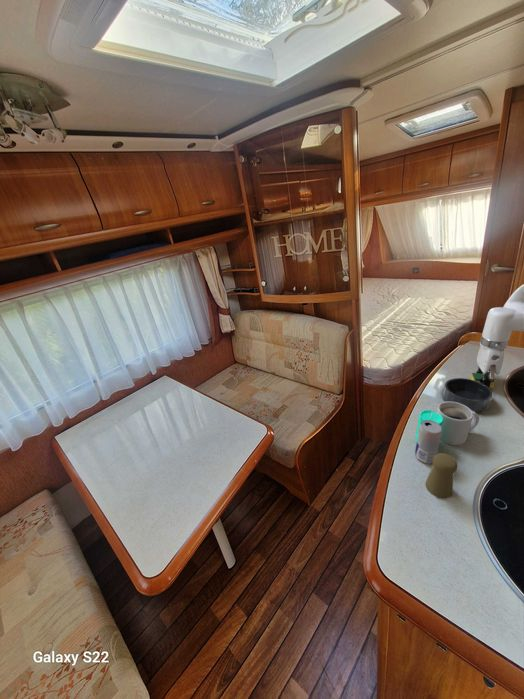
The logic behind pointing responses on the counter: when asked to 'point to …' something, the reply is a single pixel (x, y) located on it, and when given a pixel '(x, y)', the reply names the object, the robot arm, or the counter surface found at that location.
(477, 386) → the bowl
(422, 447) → the energy drink
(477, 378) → the sponge
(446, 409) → the mug
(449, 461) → the cork
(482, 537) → the counter surface
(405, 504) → the counter surface
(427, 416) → the candle
